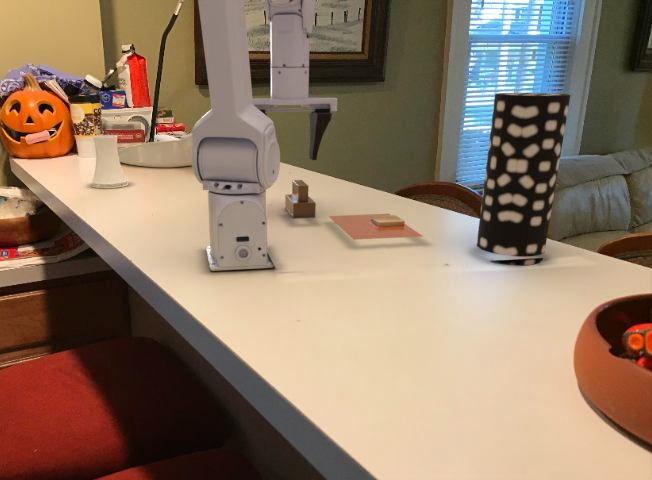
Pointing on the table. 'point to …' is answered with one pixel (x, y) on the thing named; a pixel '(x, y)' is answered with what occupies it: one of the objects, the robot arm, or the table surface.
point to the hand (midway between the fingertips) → (289, 159)
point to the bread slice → (387, 220)
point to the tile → (371, 227)
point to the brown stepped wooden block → (300, 201)
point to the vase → (107, 163)
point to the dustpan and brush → (159, 152)
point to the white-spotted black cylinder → (521, 174)
